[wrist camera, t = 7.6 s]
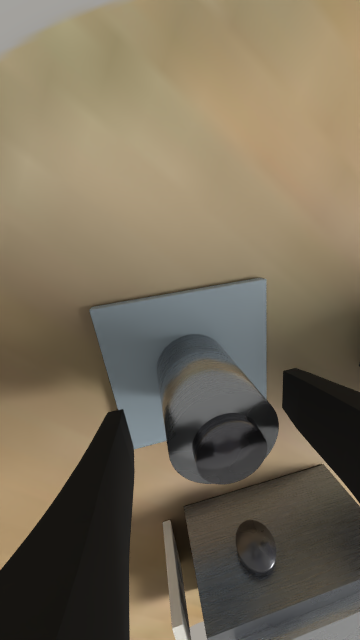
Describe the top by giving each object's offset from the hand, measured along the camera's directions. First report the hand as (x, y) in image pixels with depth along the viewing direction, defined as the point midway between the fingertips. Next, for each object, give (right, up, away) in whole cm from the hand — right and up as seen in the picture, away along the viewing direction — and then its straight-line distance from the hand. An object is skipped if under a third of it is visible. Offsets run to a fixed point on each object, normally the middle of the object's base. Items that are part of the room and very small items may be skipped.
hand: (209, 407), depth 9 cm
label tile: (-2, -14, +8) cm, 17 cm away
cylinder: (-1, +1, +3) cm, 3 cm away
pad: (-1, +1, +3) cm, 4 cm away
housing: (+6, -15, +10) cm, 19 cm away
